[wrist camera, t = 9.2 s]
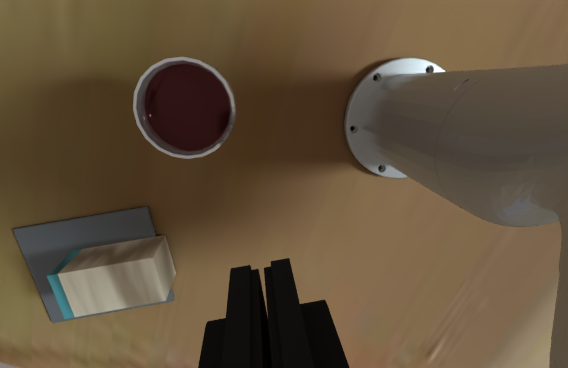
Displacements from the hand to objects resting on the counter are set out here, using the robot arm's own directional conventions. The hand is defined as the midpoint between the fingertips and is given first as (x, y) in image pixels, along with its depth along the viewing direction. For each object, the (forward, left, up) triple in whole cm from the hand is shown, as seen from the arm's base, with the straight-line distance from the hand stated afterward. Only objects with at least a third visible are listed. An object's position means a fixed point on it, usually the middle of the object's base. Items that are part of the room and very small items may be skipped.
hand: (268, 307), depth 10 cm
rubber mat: (+20, +11, -27) cm, 35 cm away
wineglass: (+4, -5, -27) cm, 28 cm away
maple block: (+11, +11, -24) cm, 29 cm away
